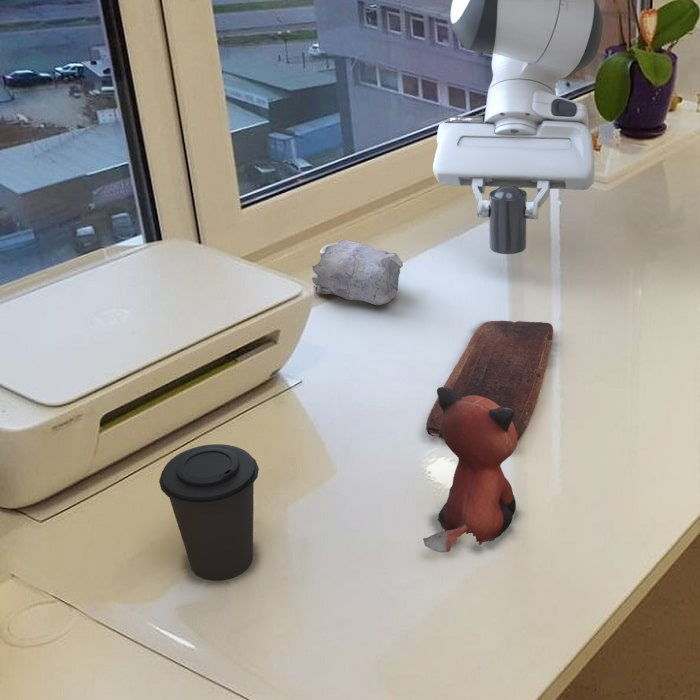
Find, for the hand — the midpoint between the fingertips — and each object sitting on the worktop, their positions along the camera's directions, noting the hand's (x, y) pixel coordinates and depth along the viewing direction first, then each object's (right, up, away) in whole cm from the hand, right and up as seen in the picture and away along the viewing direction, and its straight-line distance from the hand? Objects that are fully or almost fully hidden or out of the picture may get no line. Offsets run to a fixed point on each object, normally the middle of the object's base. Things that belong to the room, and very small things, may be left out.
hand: (507, 216), depth 133 cm
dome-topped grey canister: (0, -4, +3) cm, 4 cm away
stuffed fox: (-10, -32, -40) cm, 53 cm away
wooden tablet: (-4, -20, -18) cm, 27 cm away
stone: (-18, -10, +3) cm, 21 cm away
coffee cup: (-31, -35, -42) cm, 63 cm away
